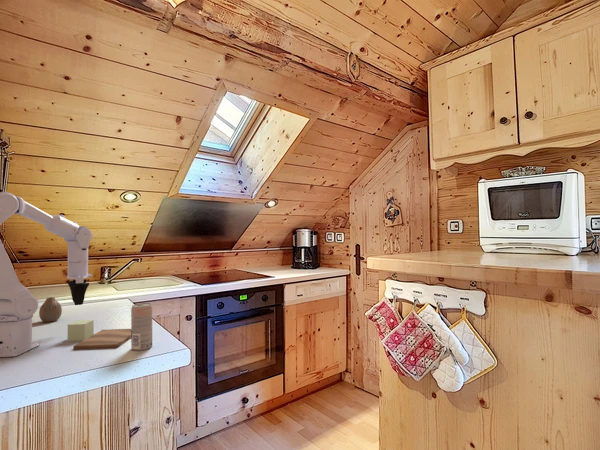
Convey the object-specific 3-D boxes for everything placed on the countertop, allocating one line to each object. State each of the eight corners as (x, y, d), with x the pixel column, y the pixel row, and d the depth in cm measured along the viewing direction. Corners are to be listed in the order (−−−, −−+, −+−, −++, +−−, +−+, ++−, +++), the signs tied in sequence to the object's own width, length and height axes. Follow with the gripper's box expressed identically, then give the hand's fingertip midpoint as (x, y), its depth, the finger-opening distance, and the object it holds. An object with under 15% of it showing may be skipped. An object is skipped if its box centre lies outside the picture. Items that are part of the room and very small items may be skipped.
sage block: (84, 340, 103) (84, 324, 103) (67, 341, 102) (67, 324, 103) (93, 335, 108) (93, 319, 108) (77, 336, 107) (77, 320, 108)
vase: (65, 320, 128) (65, 297, 129) (44, 324, 123) (44, 300, 123) (56, 318, 132) (56, 295, 132) (35, 322, 126) (35, 298, 126)
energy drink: (146, 343, 99) (146, 302, 99) (156, 347, 95) (155, 304, 96) (128, 348, 95) (127, 305, 95) (136, 352, 91) (136, 307, 92)
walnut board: (117, 347, 95) (117, 344, 95) (73, 349, 94) (73, 345, 95) (140, 331, 111) (140, 328, 111) (102, 332, 110) (102, 329, 110)
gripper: (94, 262, 109) (94, 304, 109) (89, 260, 121) (89, 298, 120) (68, 263, 105) (67, 307, 104) (65, 261, 116) (65, 301, 116)
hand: (77, 303), depth 112 cm, fingers open, 7 cm apart
